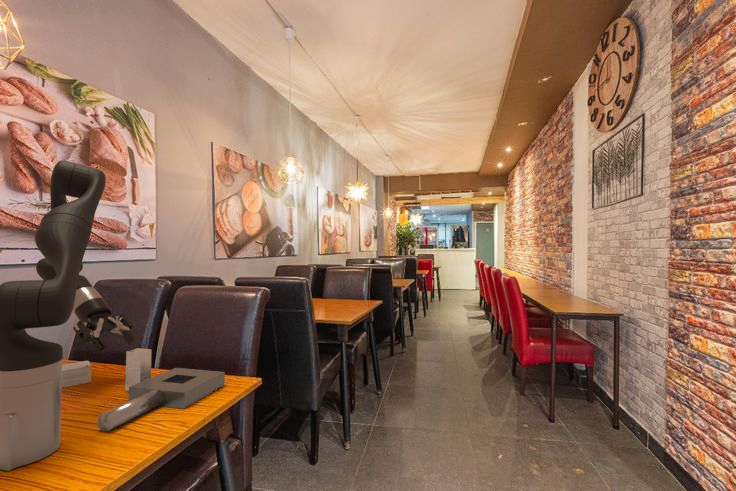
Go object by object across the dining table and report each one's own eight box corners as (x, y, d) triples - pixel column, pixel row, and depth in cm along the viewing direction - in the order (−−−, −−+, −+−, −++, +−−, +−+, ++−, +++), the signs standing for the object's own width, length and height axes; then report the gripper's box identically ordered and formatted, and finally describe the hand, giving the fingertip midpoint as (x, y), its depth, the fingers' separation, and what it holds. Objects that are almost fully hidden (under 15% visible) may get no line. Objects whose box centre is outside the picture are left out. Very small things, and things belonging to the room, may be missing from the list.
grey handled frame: (136, 436, 71) (136, 417, 71) (74, 427, 75) (74, 409, 75) (224, 385, 99) (224, 371, 99) (175, 380, 103) (175, 367, 103)
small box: (55, 382, 102) (55, 365, 102) (88, 376, 108) (89, 359, 108) (56, 389, 97) (56, 371, 97) (91, 382, 102) (91, 365, 102)
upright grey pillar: (139, 392, 94) (140, 352, 94) (125, 390, 95) (126, 351, 96) (150, 387, 98) (151, 349, 98) (136, 386, 99) (137, 348, 99)
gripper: (70, 299, 94) (101, 343, 91) (118, 294, 108) (147, 332, 105) (55, 318, 95) (86, 362, 92) (105, 310, 109) (133, 348, 106)
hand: (118, 346), depth 98 cm, fingers open, 8 cm apart
